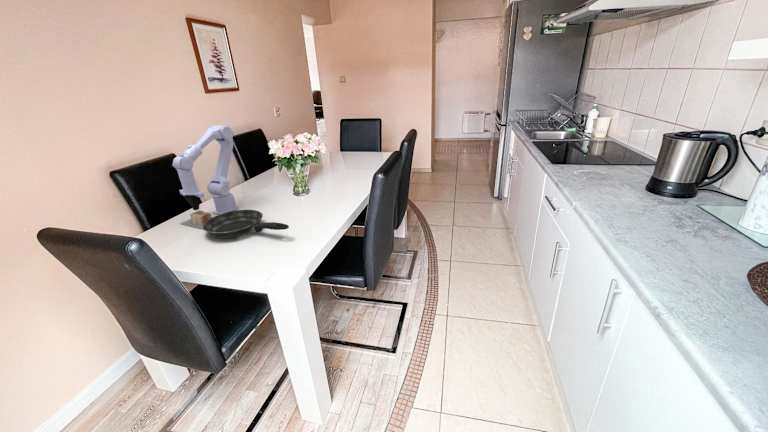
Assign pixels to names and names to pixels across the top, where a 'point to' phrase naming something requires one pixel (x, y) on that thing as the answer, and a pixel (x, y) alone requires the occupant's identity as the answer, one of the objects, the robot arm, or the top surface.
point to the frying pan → (238, 224)
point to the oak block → (200, 217)
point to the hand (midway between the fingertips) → (196, 209)
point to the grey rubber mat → (191, 224)
